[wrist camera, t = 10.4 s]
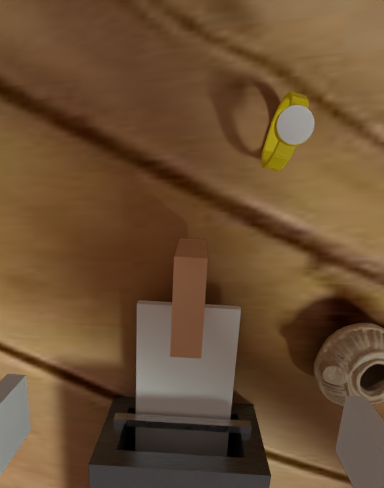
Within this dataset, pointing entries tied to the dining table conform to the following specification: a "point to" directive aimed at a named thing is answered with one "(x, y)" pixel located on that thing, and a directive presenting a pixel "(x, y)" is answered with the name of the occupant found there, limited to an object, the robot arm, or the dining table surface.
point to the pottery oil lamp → (352, 364)
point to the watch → (287, 131)
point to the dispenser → (178, 465)
